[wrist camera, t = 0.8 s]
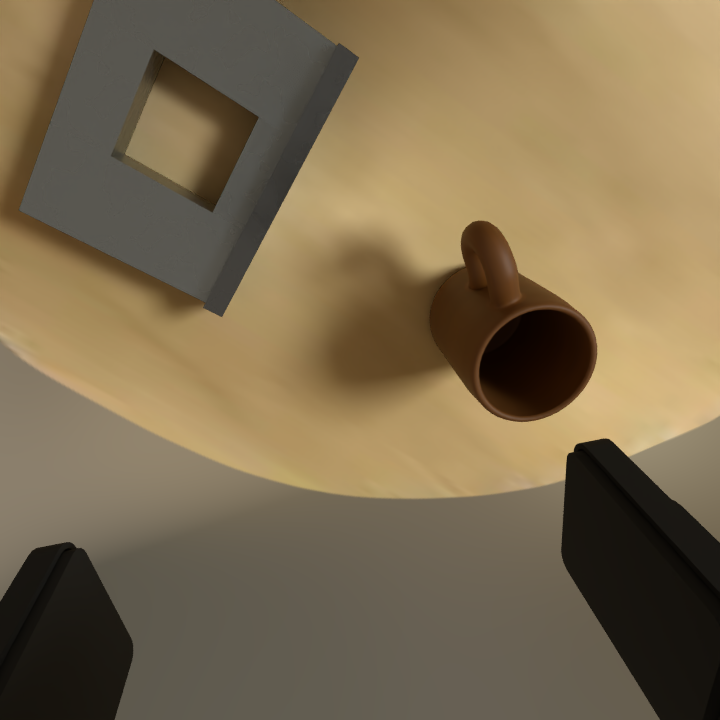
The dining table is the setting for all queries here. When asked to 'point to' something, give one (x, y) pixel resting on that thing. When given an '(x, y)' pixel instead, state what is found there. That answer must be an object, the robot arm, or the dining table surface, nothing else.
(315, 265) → the dining table surface
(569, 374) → the mug
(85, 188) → the jig
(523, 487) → the dining table surface
